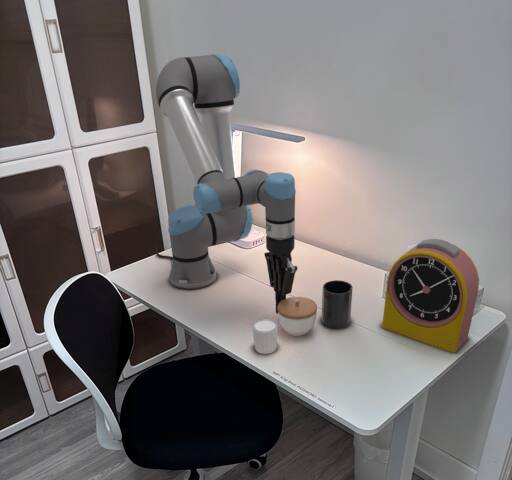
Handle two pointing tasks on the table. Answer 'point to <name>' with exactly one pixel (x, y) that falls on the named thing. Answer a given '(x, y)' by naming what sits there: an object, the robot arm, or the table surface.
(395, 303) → the alarm clock
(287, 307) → the trinket box
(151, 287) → the table surface
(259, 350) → the white cylinder
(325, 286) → the pen cup
